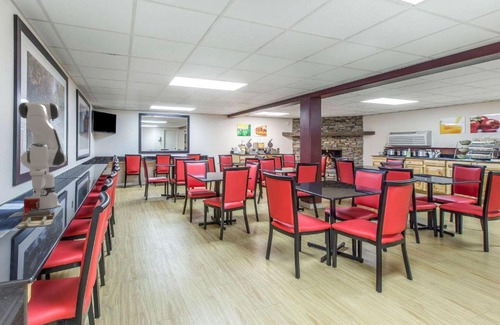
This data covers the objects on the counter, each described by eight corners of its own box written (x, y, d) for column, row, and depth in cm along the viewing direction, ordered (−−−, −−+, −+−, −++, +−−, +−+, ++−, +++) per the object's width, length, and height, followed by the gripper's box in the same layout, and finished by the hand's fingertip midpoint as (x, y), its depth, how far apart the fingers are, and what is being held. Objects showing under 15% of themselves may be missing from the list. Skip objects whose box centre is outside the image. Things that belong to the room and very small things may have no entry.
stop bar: (28, 218, 157) (28, 211, 157) (29, 217, 160) (29, 210, 160) (49, 217, 162) (49, 210, 162) (50, 215, 165) (50, 209, 165)
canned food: (31, 216, 166) (31, 198, 166) (20, 215, 168) (20, 197, 167) (43, 213, 174) (43, 196, 173) (32, 212, 175) (32, 195, 175)
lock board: (26, 218, 162) (26, 212, 162) (55, 216, 170) (55, 210, 169) (17, 229, 142) (17, 222, 142) (50, 226, 149) (50, 219, 149)
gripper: (35, 170, 167) (35, 193, 168) (29, 172, 150) (29, 198, 150) (48, 170, 170) (48, 192, 171) (43, 172, 153) (44, 197, 153)
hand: (39, 195), depth 160 cm, fingers open, 8 cm apart
